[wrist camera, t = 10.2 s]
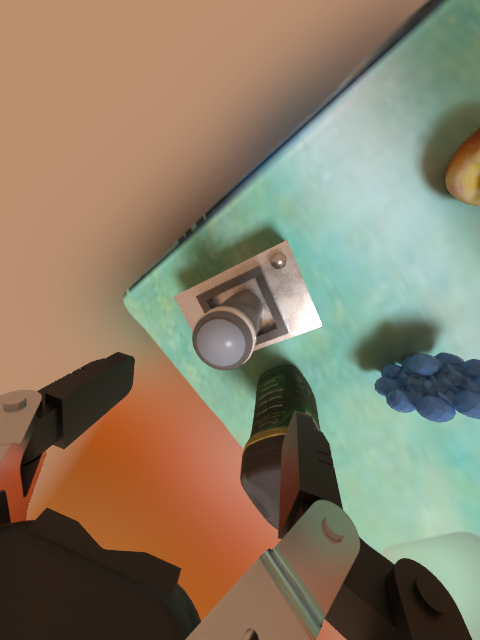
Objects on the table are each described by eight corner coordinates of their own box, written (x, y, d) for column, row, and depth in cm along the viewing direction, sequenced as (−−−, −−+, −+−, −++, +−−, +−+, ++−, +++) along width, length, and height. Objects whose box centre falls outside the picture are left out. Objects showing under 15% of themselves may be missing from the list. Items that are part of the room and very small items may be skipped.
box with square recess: (286, 242, 31) (287, 238, 23) (316, 313, 33) (324, 331, 25) (191, 289, 36) (166, 299, 28) (222, 349, 37) (206, 373, 30)
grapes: (441, 317, 30) (537, 355, 18) (459, 359, 31) (560, 420, 19) (354, 351, 33) (389, 401, 22) (372, 388, 34) (415, 454, 23)
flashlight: (225, 287, 28) (189, 307, 18) (267, 292, 27) (256, 315, 17) (223, 327, 30) (189, 367, 19) (263, 333, 29) (250, 378, 18)
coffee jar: (251, 376, 38) (220, 480, 20) (293, 356, 35) (301, 456, 18) (279, 420, 39) (273, 555, 22) (322, 405, 37) (355, 542, 19)
